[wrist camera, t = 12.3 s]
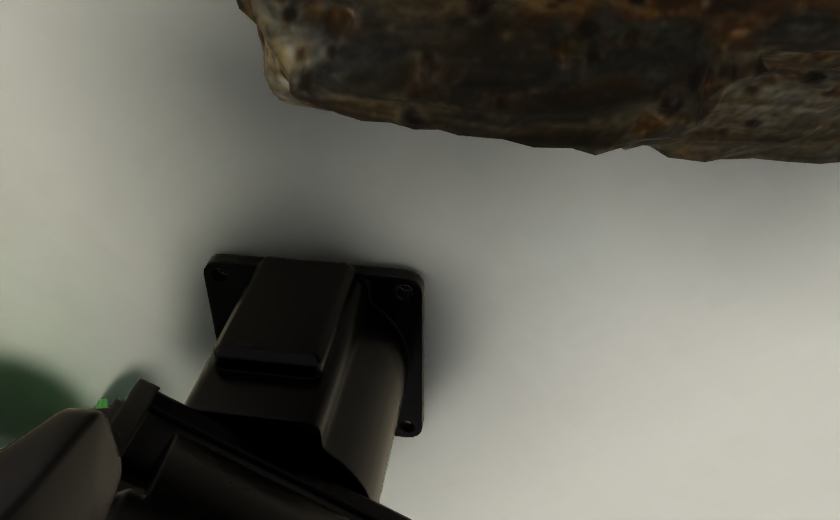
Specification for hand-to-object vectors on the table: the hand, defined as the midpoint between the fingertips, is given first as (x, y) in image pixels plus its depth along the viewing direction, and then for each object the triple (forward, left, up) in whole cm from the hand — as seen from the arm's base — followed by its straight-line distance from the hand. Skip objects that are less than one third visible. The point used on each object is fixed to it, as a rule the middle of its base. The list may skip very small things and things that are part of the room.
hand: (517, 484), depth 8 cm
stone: (+2, -2, -13) cm, 14 cm away
